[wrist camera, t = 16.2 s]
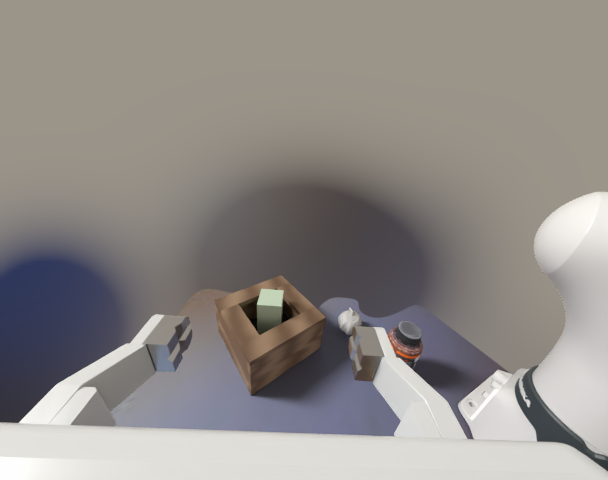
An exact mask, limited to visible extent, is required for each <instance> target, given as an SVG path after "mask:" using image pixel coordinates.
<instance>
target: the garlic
mask: <svg viewBox="0 0 608 480" xmlns="http://www.w3.org/2000/svg"><path fill="white" fill-rule="evenodd" d="M349 310H350V311H349ZM349 310H348V311H345V312H343V313H342V314H340V316H339V317H338V321H339V327H340V329H341V330H342V331H343V332H345V333H346V334H347V335H352V332H351V331H352V328H353V326H360V327H361V325H362V322H361V319H360V316H359V315H358V314H357V312H356V311H353V310H352V309H351V308H349Z"/></svg>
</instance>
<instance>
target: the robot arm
mask: <svg viewBox="0 0 608 480" xmlns="http://www.w3.org/2000/svg"><path fill="white" fill-rule="evenodd" d="M534 254H535V257H536V260H537V263H538V265H539V267H540V268H541V270H542V271H543V273H544V274H545V275H546V276H547V277H548V278H549V279H550V280H551V282H552V283H553V284H554V286H555V287H556V289H557V290H558V292H559V294H560V296H561V298H562V301H563V304H564V306H565V312H566V324H565V328H564V331H563V334H562V335H561V337H560V339H559V340H558V342H557V344H556V345H555V346H554V348H553V349H552V350H551V352H550V353H549V354H548V356H547V357H546V358H545V359H544V361H543V362H542V363H541V364H540V365H537V366H534V367H532V368H530V369H528V370H527V369H519V370H518V371H517V372H516V373H515V374H514V375H512V374H509V373H507V372H504V371H500V370H497V371H496V372H495V373H494V374H493V375H492V376H490V377H489V378H488V379H487V380H486V381H484V382H483V383H482V384H481V385H480V386H478V387H477V388H476V389H475V390H474V391H472V392H471V393H470V394H469V395H468V396H466V397H465V398H464V399H463V400H462V401H460V402H459V404H458V407H459V410H460V412H461V414H462V415H463V417H464V418H465V420H466V422H467V423H468V425H469V427H470V429H471V432H472V435H473V438H474V439H467V438H466V436H465V434H464V432H463V430H462V428H461V426H460V425H459V423H458V421H457V419H456V417H455V415H454V413H453V411H452V410H451V408H450V406H449V404H448V402H447V401H446V400H445V399H444V398H443V397H442V396H441V395H439V394H438V393H437V392H436V391H435V390H434V389H433V388H432V387H431V386H430V385H429V384H428V383H426V382H425V381H424V380H423V379H422V378H421V377H420V376H419V375H418V374H417V373H416V372H415V371H413V370H412V369H411V368H410V367H409V366H408V365H407V364H406V363H405V362H404V361H403V360H402V359H400V358H397V357H396V355H395V352H394V350H393V348H392V345H391V343H390V341H389V338H388V336H387V334H386V331H385V329H384V328H379V327H360V326H353V328H352V331H351V332H352V336H351V337H350V339H349V355H350V358H351V359H352V360H353V364H352V369H353V374H354V379H355V380H359V381H372V383H373V384H374V385H375V387H376V388H377V389H378V391H379V392H380V393H381V395H382V396H383V397H384V399H385V400H386V401H387V403H388V404H389V405H390V407H391V408H392V410H393V411H394V412H395V414H396V415H397V416H398V418H399V419H400V420H401V422H400V424H399V426H398V428H397V429H396V431H395V433H394V435H395V437H393V436H365V435H337V434H309V433H282V432H254V431H226V430H197V429H169V428H140V427H115V425H116V420H115V418H114V417H113V415H112V413H111V411H112V410H113V409H114V408H115V407H116V406H118V405H119V404H120V403H121V402H122V401H123V400H125V399H126V398H127V397H128V396H129V395H130V394H131V393H133V392H134V391H135V390H136V389H137V388H138V387H140V386H141V385H142V384H143V383H144V382H145V381H147V380H148V379H149V378H150V377H151V376H152V375H153V374H155V373H156V372H155V371H162V372H175V371H176V369H177V367H178V365H179V364H180V362H181V360H182V353H183V352H184V351H185V350H187V349H188V347H189V345H190V342H191V339H192V329H191V328H190V327H189V326H188V325H189V323H190V320H189V317H183V316H171V315H157V314H156V315H154V316H152V317H151V318H150V320H149V321H148V322H147V323H146V325H145V326H144V327H143V328H142V329H141V331H140V332H139V333H138V334H137V336H136V337H135V338H134V339H133V340H132V342H131V343H130V344H125V345H123V346H121V347H120V348H118V349H116V350H115V351H113V352H111V353H110V354H108V355H106V356H104V357H103V358H101V359H99V360H97V361H96V362H94V363H92V364H91V365H89V366H87V367H86V368H84V369H82V370H80V371H79V372H77V373H75V374H73V375H72V376H70V377H68V378H67V379H65V380H63V381H62V382H60V383H58V384H56V385H55V387H53V389H52V390H51V391H50V392H49V393H48V394H47V395H46V396H45V397H44V398H43V399H42V400H41V401H40V402H39V403H38V404H37V405H36V406H35V407H34V408H33V409H32V410H31V411H30V412H29V413H28V414H27V415H26V416H25V417H24V418H23V419H22V420H21V421H20V422H19V423H0V480H608V192H594V193H591V194H587V195H584V196H582V197H579V198H577V199H574V200H573V201H570V202H568V203H567V204H565V205H563V206H561V207H560V208H558V209H557V210H556V211H554V212H553V213H552V214H551V215H550V216H548V218H547V219H546V220H545V221H544V222H543V223H542V225H541V226H540V228H539V229H538V232H537V234H536V236H535V241H534ZM470 405H471V406H472V407H471V406H470Z"/></svg>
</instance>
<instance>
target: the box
mask: <svg viewBox="0 0 608 480" xmlns="http://www.w3.org/2000/svg"><path fill="white" fill-rule="evenodd" d="M261 289H272V290H284V293H283V312H284V313H285V315H286V316H287V317H288V318H289V320H287V321H285V322H284V323H282V324H280V325H278V326H276V327H274V328H272V329H270V330H268V331H267V332H265V333H263V334H261V335H259V334H258V332H257V331H256V329H255V328H254V326H253V325H252V323H251V322H250V320H252V319H254V318H256V317H257V302H258V299H259V295H260V292H261ZM215 307H216V315H217V322H218V330H219V333H220V335H221V337H222V339H223V341H224V343H225V345H226V347H227V349H228V351H229V353H230V355H231V357H232V359H233V361H234V363H235V364H236V366H237V368H238V370H239V372H240V374H241V376H242V378H243V380H244V382H245V384H246V386H247V388H248V390H249V392H250V394H251V395H253V394H254V393H256V392H257V391H259V390H260V389H261V388H263V387H264V386H266V385H267V384H269V383H270V382H272V381H273V380H274V379H276V378H277V377H279V376H280V375H282V374H283V373H285V372H286V371H287V370H289V369H290V368H292V367H293V366H295V365H296V364H298V363H299V362H300V361H302V360H303V359H305V358H306V357H308V356H309V355H311V354H312V353H313V352H315V351H316V350H318V349H319V348H320V346H321V341H322V335H323V330H324V324H325V319H326V317H325V316H324V315H323V314H322V313H321V312H320V311H319V310H318V309H316V308H315V307H314V306H313V305H312V304H311V303H310V302H309V301H308V300H307V299H306V298H305V297H304V296H303V295H302V294H301V293H299V292H298V291H297V290H296V289H295V288H294V287H293V286H292V285H291V284H290V283H289V282H288V281H287V280H286V279H285V278H284V277H282V276H278V277H275V278H273V279H270V280H267V281H265V282H262V283H259V284H257V285H254V286H251V287H248V288H246V289H243V290H240V291H238V292H235V293H232V294H230V295H227V296H224V297H222V298H219V299H216V300H215Z"/></svg>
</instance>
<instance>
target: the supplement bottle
mask: <svg viewBox="0 0 608 480" xmlns="http://www.w3.org/2000/svg"><path fill="white" fill-rule="evenodd" d="M421 337H422V332H421V330H420V329H419V328H418V327H417V326H416V325H415V324H413V323H411V322H408V321H402V322H400V323H399V324H398V327H395V328H393V329H391V330H390V332H389V334H388V338H389V341H390V343H391V345H392V348H393V350H394V352H395V355H396V357H397V358H400V359H402V360H403V361H404V362H405V363H406V364H407V365H408V366H409V367H410V368H411V369H412V370H413V369H414V367H415V365H416V363H417V361H418V359H419V357H420V355H421V353H422V350H423V344H422V341H421Z"/></svg>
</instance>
